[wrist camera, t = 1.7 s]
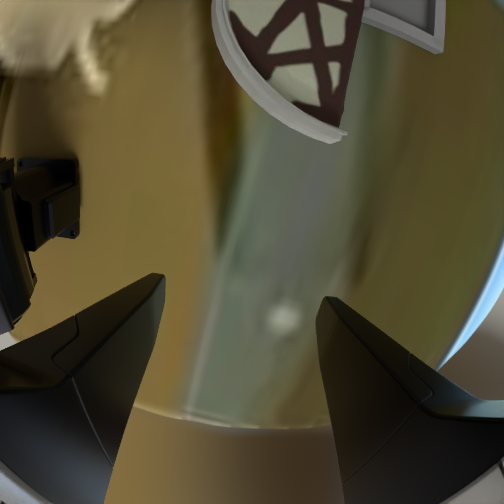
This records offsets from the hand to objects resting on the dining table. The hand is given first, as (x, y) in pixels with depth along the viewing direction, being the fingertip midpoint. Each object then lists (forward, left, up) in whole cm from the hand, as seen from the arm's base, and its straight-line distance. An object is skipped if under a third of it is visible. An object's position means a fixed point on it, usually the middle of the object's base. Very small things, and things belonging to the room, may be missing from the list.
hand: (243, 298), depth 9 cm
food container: (0, +11, -13) cm, 17 cm away
